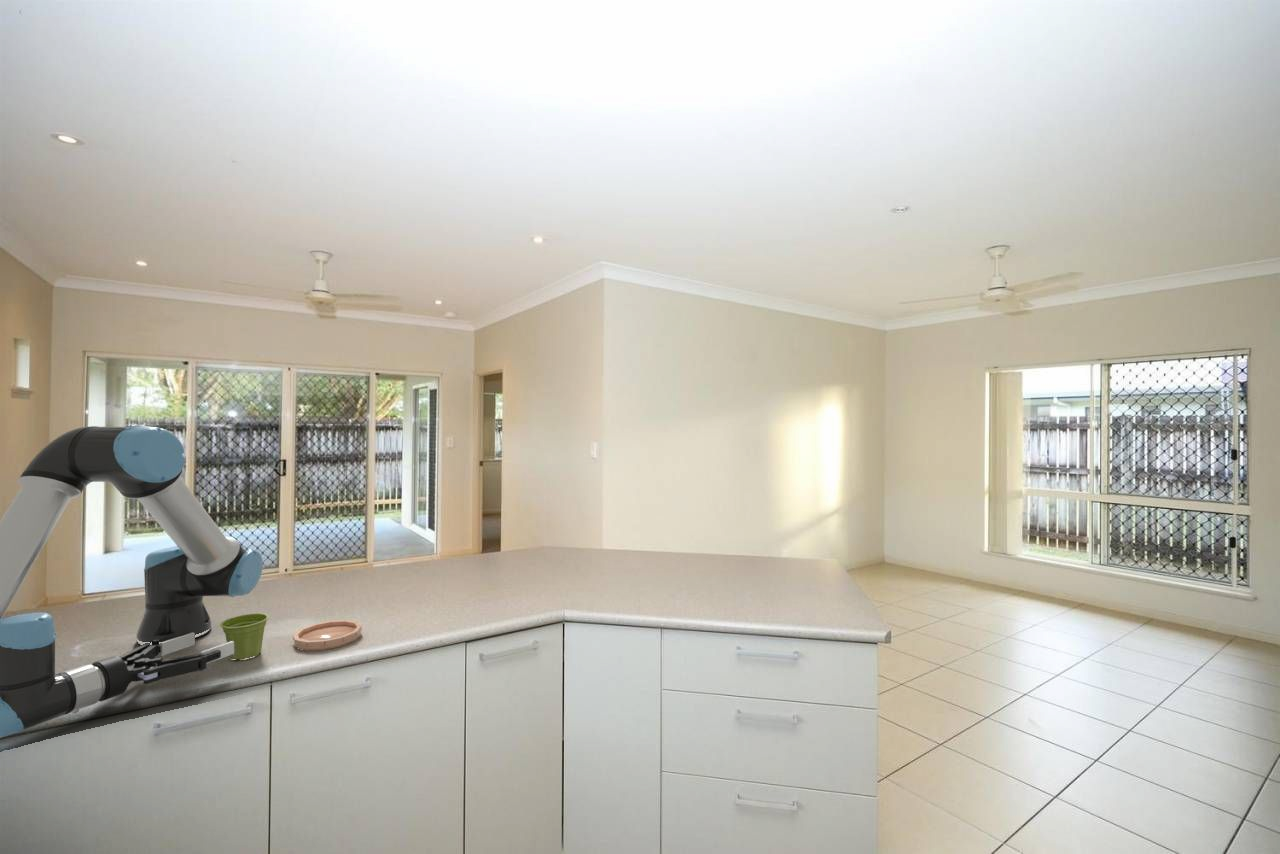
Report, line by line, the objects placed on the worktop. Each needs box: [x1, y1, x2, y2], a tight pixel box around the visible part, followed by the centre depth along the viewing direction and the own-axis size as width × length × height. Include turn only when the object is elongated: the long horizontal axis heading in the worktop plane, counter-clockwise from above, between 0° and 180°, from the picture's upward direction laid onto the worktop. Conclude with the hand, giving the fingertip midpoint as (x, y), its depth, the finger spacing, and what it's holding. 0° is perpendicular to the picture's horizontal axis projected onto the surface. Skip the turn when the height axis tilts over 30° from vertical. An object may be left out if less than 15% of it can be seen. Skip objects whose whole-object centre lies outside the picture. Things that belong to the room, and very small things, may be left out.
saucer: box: [292, 619, 363, 652], centre depth 147 cm, size 15×15×2 cm
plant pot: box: [219, 613, 269, 659], centre depth 136 cm, size 9×9×9 cm
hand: (213, 642), depth 129 cm, fingers open, 13 cm apart
